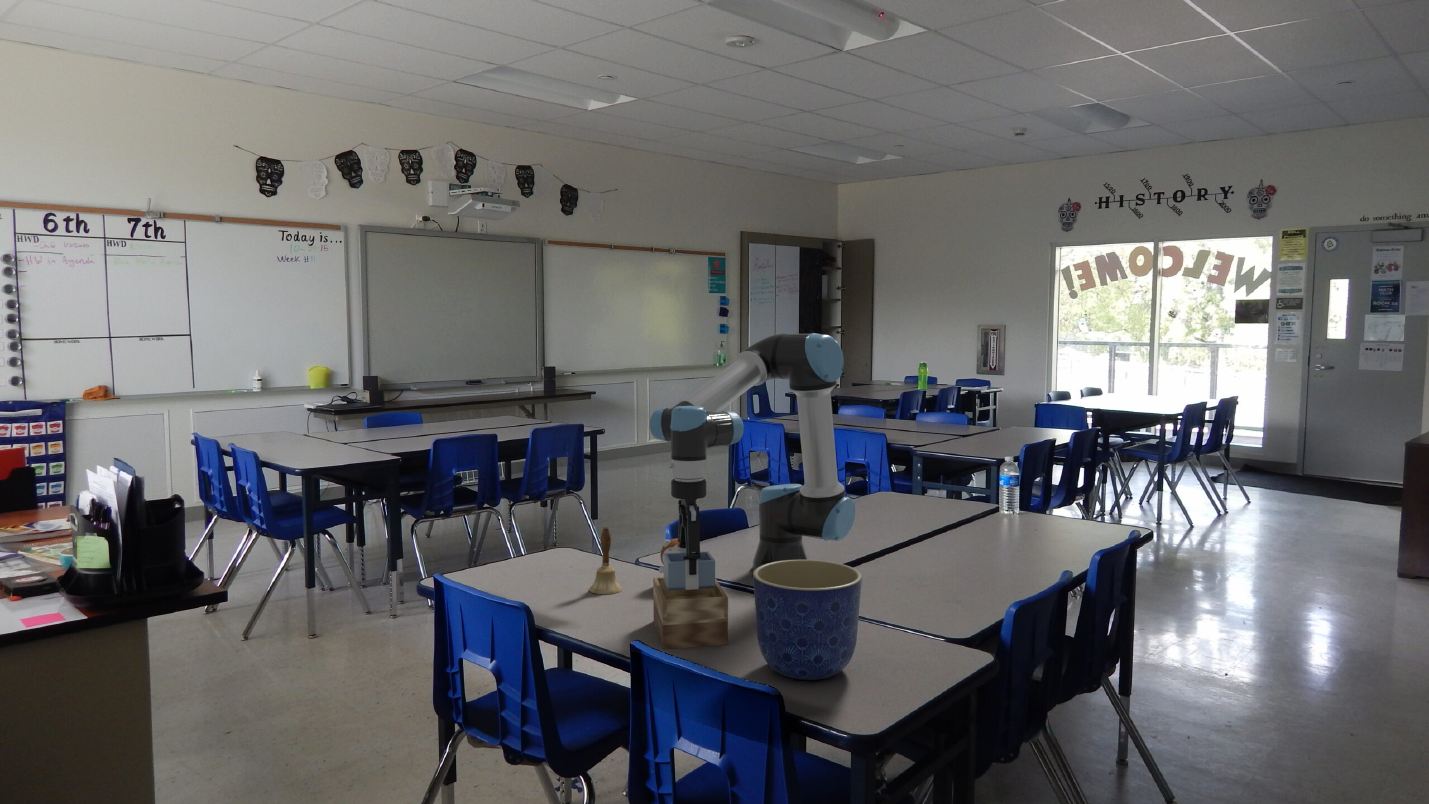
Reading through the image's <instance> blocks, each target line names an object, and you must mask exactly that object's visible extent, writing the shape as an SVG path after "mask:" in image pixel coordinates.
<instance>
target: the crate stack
mask: <svg viewBox="0 0 1429 804" xmlns="http://www.w3.org/2000/svg"><path fill="white" fill-rule="evenodd" d="M652 581H653V584H652V585H653V586H652V587H653V591H652V592H653V593H652V594H653V599H652V600H653V603H652V604H653V623H654V626H655V629H656V633H657V635H658V638H659V640H660V641H659V642H660V644H661V646H662V649H663V650H665V649H666V650H670V649H683V648H685V649H686V648H697V647H699V648H700V647H714V646H727V645H729V597H728V595H727V594H726V592H725V591H724V589H723V587H722V586H721V585H720V582H719V581H718V580H717V578H716V577H715V588H714V589H694V590H675V591H668V589H667V587H666V584H665V582H664V576H659V577H657V576H656V577H653V578H652Z"/></svg>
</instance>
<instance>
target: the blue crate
mask: <svg viewBox="0 0 1429 804" xmlns="http://www.w3.org/2000/svg"><path fill="white" fill-rule="evenodd" d="M692 553H695V552H692ZM700 554H701V557H700V558H699V589H714V588H715V578H716V560H715V558H714V557H713V555H712V554H711V553H710V551H700ZM685 556H686V552H684V553H664V565H663V567H664V573H663V577H664V582H665V584H666V587H667V589H668V591H675V590H686V589H685V560H683V557H685ZM693 590H694V589H693Z"/></svg>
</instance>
